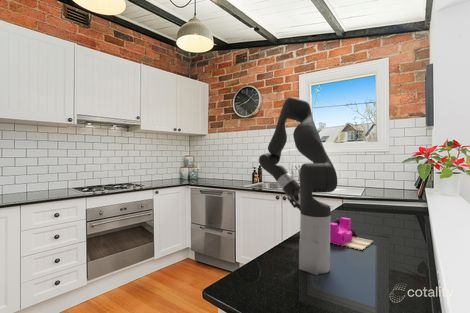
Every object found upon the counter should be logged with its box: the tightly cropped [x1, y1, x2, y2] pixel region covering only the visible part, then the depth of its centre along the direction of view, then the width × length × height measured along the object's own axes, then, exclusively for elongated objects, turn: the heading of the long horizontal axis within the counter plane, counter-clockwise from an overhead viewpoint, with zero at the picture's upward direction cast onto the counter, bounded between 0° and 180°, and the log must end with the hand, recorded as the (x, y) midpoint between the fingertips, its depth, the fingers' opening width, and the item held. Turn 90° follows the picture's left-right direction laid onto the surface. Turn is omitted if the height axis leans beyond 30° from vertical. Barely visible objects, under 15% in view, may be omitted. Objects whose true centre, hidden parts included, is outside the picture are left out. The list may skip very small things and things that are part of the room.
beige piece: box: [342, 236, 374, 251], centre depth 115 cm, size 14×24×13 cm, turn 48°
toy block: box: [330, 217, 352, 246], centre depth 113 cm, size 15×6×8 cm, turn 134°
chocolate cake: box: [332, 216, 358, 237], centre depth 124 cm, size 10×7×12 cm
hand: (310, 212), depth 123 cm, fingers open, 8 cm apart
